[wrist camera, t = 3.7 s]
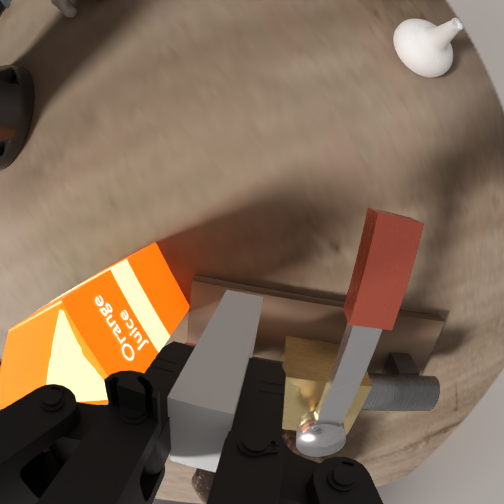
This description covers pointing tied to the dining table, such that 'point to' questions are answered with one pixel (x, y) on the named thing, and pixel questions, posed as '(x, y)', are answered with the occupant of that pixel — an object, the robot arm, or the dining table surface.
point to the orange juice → (95, 330)
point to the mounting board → (311, 322)
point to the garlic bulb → (426, 45)
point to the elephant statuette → (65, 7)
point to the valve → (369, 392)
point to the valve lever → (362, 323)
